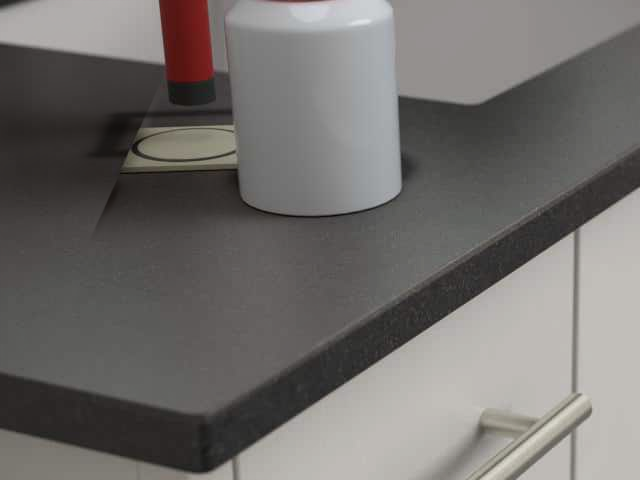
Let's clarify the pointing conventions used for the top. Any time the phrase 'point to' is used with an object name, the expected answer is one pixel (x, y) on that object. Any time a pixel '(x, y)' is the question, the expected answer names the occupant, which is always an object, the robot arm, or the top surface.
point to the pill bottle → (314, 104)
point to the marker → (187, 52)
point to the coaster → (182, 149)
